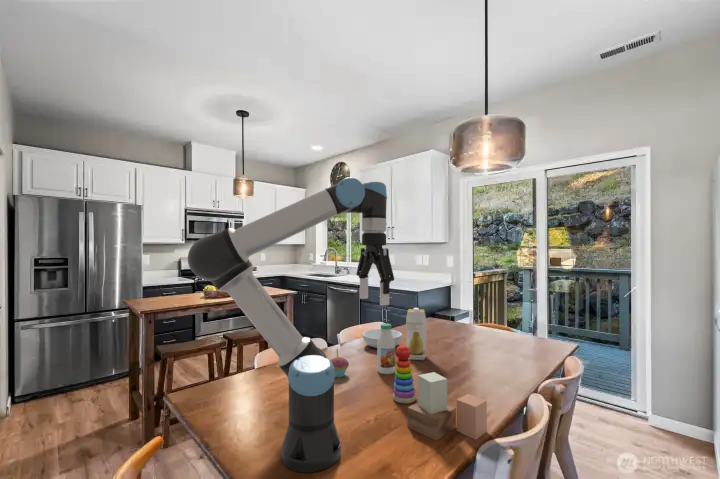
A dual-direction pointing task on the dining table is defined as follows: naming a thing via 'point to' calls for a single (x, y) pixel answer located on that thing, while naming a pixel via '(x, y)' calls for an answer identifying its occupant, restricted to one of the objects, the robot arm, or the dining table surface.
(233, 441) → the dining table surface
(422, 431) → the walnut block
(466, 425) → the terracotta block
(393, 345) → the milk bottle
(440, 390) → the sage block
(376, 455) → the dining table surface
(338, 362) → the cupcake
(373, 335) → the serving bowl
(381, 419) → the dining table surface
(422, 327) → the juice carton
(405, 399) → the stacking toy
